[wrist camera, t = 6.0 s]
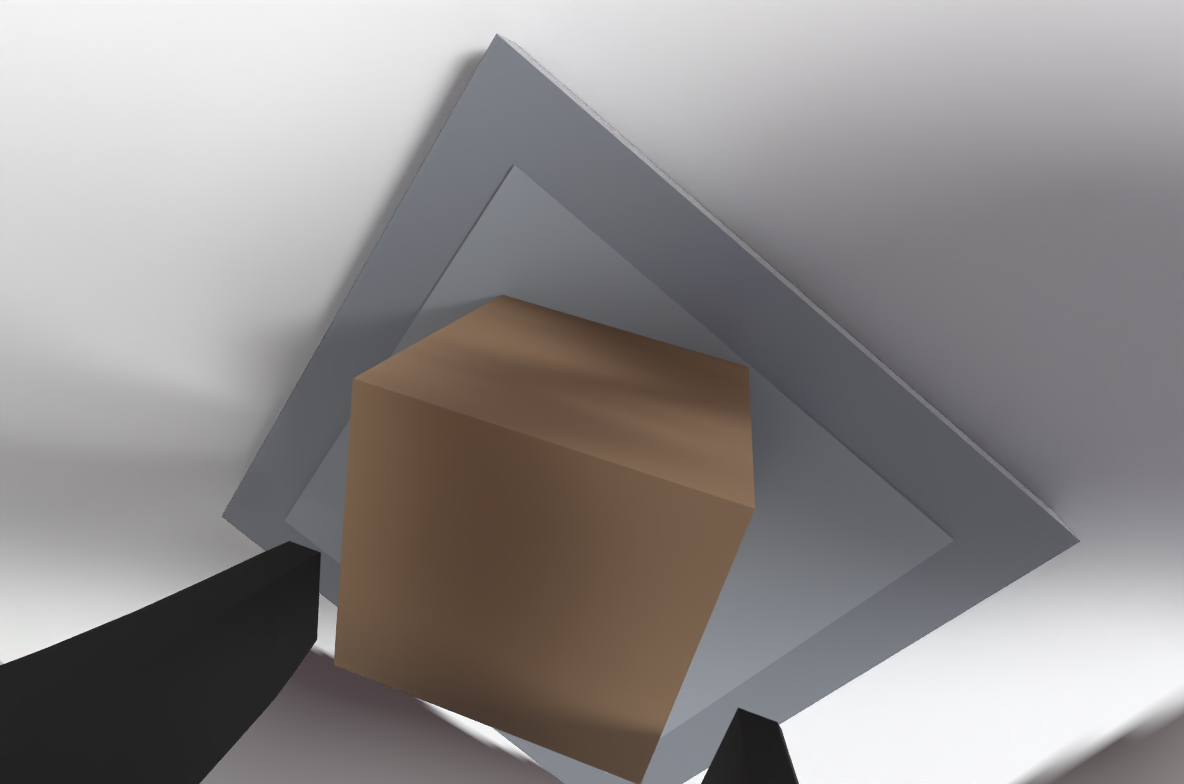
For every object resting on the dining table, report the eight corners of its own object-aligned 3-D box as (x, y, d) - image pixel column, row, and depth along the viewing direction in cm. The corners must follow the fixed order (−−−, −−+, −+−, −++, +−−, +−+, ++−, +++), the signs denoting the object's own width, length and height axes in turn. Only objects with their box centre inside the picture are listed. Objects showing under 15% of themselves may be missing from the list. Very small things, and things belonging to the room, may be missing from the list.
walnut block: (748, 367, 11) (754, 508, 7) (674, 569, 13) (640, 785, 9) (502, 294, 12) (353, 378, 7) (467, 499, 14) (334, 665, 9)
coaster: (1054, 512, 12) (1083, 544, 11) (622, 790, 18) (615, 827, 17) (516, 44, 11) (494, 32, 10) (249, 497, 17) (218, 518, 16)
